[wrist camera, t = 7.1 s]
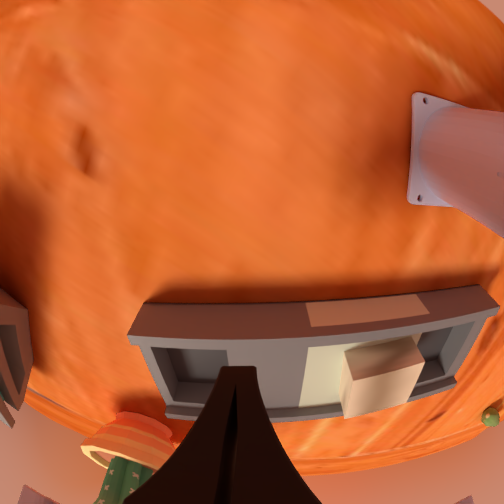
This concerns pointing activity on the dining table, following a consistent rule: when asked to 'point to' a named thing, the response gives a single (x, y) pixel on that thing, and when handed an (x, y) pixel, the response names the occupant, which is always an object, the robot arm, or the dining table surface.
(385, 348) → the birch block
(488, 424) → the edible corn
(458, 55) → the dining table surface
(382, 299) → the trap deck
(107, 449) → the potted cactus
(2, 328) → the gray angular rack
